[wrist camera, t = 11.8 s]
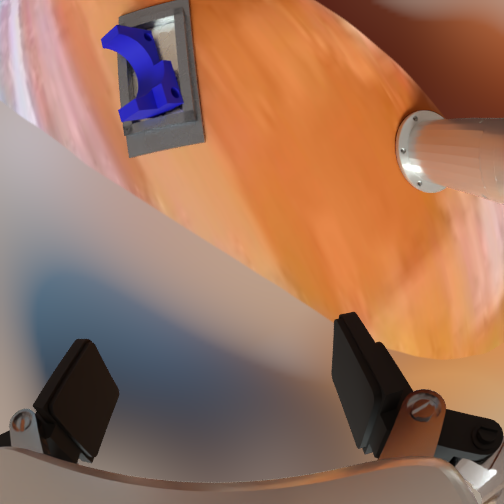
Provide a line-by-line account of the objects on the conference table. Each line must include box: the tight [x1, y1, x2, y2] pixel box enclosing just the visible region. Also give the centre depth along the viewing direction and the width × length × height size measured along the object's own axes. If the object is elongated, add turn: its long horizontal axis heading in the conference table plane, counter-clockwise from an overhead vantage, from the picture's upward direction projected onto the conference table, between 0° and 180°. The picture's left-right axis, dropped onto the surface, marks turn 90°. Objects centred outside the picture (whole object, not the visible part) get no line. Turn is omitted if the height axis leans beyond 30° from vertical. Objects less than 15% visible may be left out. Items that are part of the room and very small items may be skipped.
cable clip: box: [101, 25, 184, 122], centre depth 25 cm, size 12×4×6 cm, turn 17°
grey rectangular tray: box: [117, 0, 205, 158], centre depth 28 cm, size 10×22×3 cm, turn 7°
